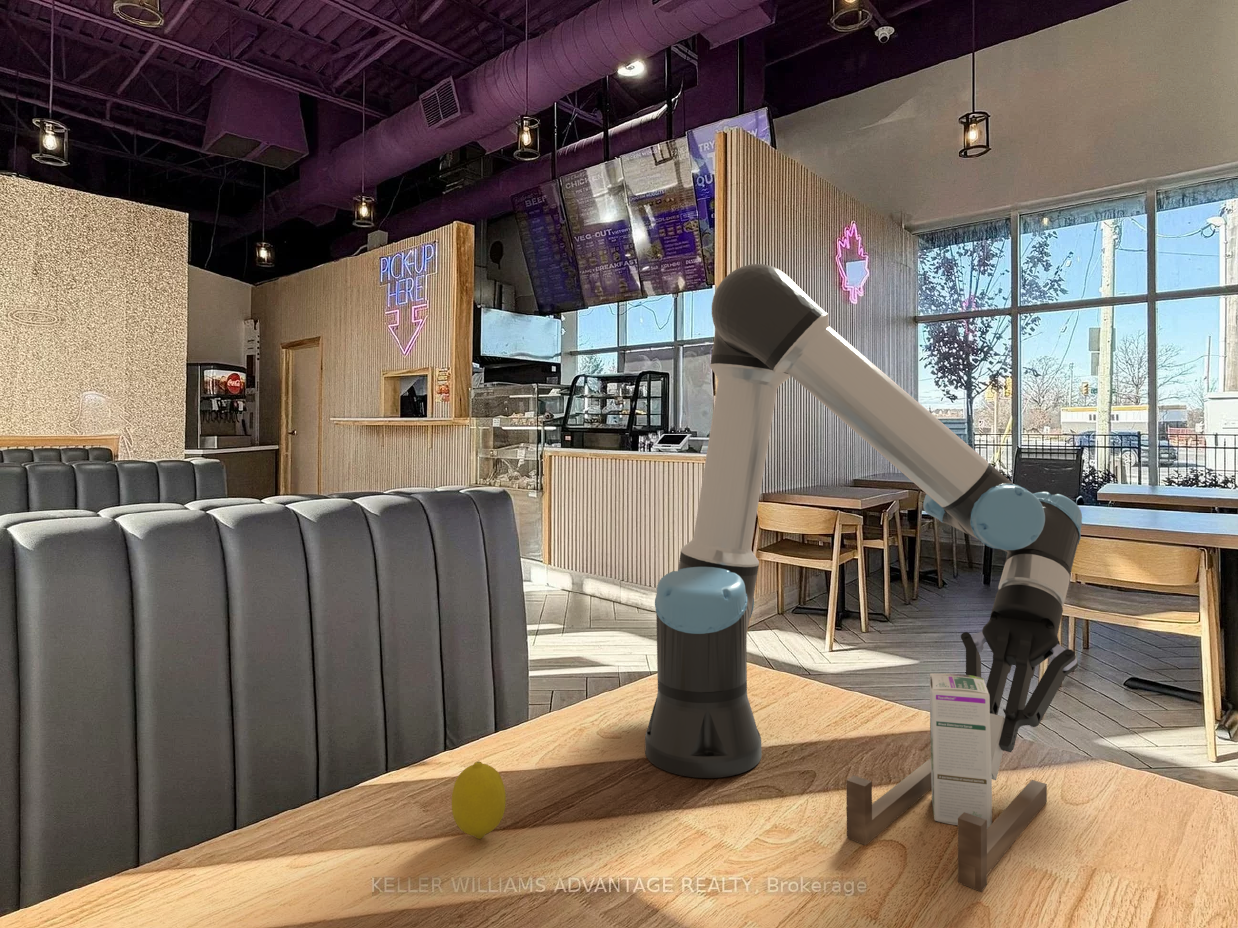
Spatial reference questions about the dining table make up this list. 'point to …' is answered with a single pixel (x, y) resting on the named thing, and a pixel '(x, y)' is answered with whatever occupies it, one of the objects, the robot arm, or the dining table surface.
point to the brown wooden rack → (974, 839)
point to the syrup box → (960, 747)
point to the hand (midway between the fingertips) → (986, 772)
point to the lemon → (478, 800)
